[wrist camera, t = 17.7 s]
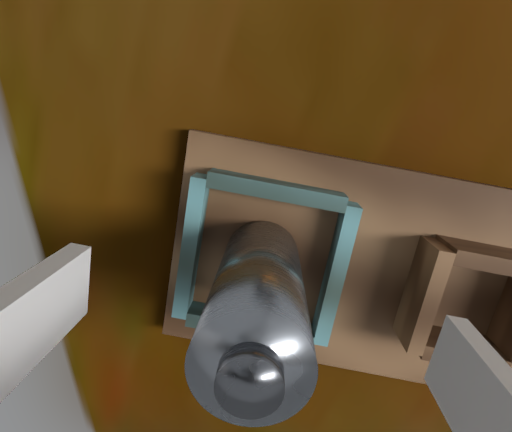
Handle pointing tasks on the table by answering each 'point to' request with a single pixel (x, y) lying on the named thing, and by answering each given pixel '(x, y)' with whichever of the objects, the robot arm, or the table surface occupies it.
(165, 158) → the table surface
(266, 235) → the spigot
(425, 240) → the mount
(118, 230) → the table surface
